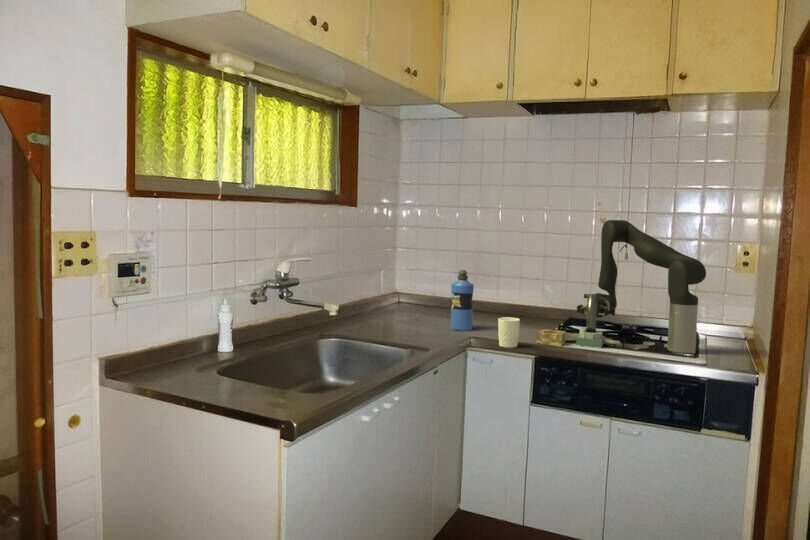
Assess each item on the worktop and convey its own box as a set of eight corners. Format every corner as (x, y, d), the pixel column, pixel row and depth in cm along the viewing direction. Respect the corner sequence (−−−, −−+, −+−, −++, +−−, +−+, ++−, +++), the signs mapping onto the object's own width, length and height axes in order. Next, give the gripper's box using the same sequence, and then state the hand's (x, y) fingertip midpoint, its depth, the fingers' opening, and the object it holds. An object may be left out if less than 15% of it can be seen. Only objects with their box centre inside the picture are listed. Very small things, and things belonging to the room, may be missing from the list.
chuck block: (620, 345, 227) (621, 332, 227) (618, 349, 219) (619, 336, 219) (579, 341, 233) (580, 328, 233) (576, 345, 225) (576, 332, 225)
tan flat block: (565, 341, 233) (565, 331, 232) (561, 345, 225) (561, 335, 224) (541, 339, 236) (542, 329, 236) (536, 343, 228) (537, 332, 228)
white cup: (514, 343, 228) (515, 317, 227) (522, 348, 220) (523, 320, 219) (494, 343, 226) (495, 317, 225) (501, 348, 218) (502, 321, 218)
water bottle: (463, 326, 261) (464, 268, 259) (477, 330, 253) (478, 270, 251) (445, 328, 256) (447, 269, 254) (459, 332, 248) (461, 271, 246)
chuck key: (599, 336, 228) (601, 294, 226) (598, 338, 224) (600, 295, 223) (583, 335, 230) (584, 293, 229) (581, 336, 227) (583, 294, 226)
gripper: (581, 296, 250) (575, 301, 235) (618, 299, 244) (613, 304, 229) (580, 314, 250) (574, 320, 235) (617, 317, 244) (613, 323, 230)
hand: (593, 312), depth 232 cm, fingers open, 8 cm apart
